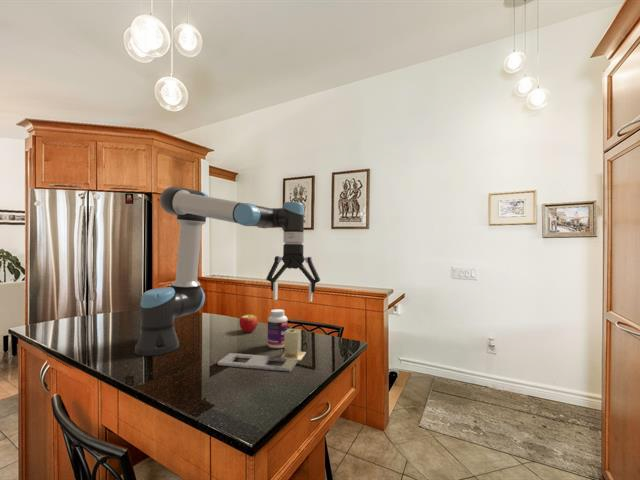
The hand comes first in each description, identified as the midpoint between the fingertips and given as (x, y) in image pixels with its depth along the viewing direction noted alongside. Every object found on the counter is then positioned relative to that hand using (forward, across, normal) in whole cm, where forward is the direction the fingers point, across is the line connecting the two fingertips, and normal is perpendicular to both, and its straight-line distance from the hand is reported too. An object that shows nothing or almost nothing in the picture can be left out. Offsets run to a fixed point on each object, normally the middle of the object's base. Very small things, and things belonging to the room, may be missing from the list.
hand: (292, 300), depth 115 cm
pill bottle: (+21, -9, +9) cm, 25 cm away
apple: (+21, -29, +26) cm, 44 cm away
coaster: (+21, 0, 0) cm, 21 cm away
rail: (+21, -10, -9) cm, 25 cm away
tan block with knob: (+20, 0, 0) cm, 20 cm away
